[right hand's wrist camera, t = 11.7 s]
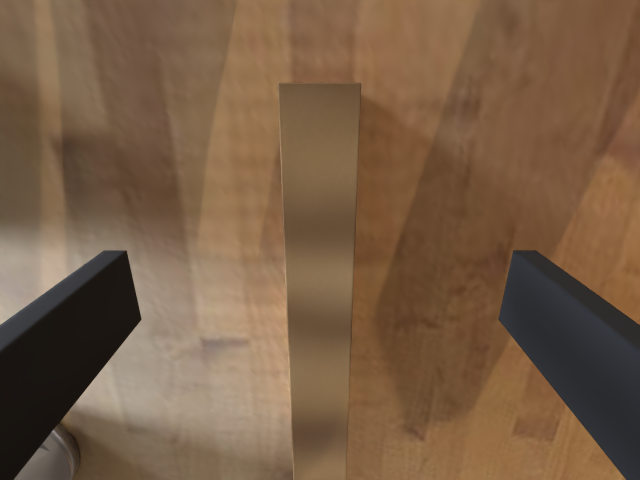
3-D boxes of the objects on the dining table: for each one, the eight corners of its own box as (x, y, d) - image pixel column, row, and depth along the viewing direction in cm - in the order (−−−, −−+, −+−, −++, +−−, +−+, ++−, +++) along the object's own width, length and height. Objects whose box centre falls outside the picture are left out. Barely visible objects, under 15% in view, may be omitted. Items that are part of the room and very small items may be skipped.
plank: (289, 86, 28) (277, 82, 20) (350, 85, 28) (361, 82, 20) (302, 526, 48) (298, 609, 40) (337, 526, 48) (340, 609, 40)
